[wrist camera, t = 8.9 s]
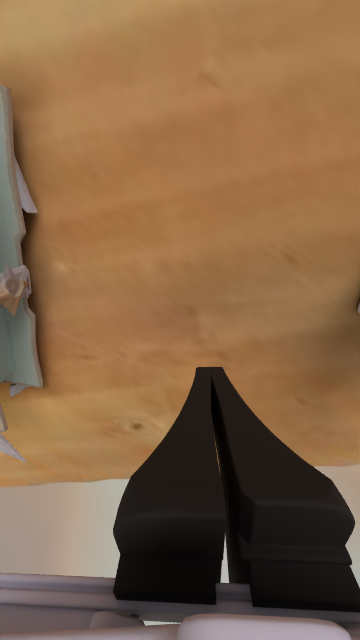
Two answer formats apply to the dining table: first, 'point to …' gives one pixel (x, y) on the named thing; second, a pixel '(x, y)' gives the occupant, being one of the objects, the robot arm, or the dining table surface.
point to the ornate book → (14, 275)
